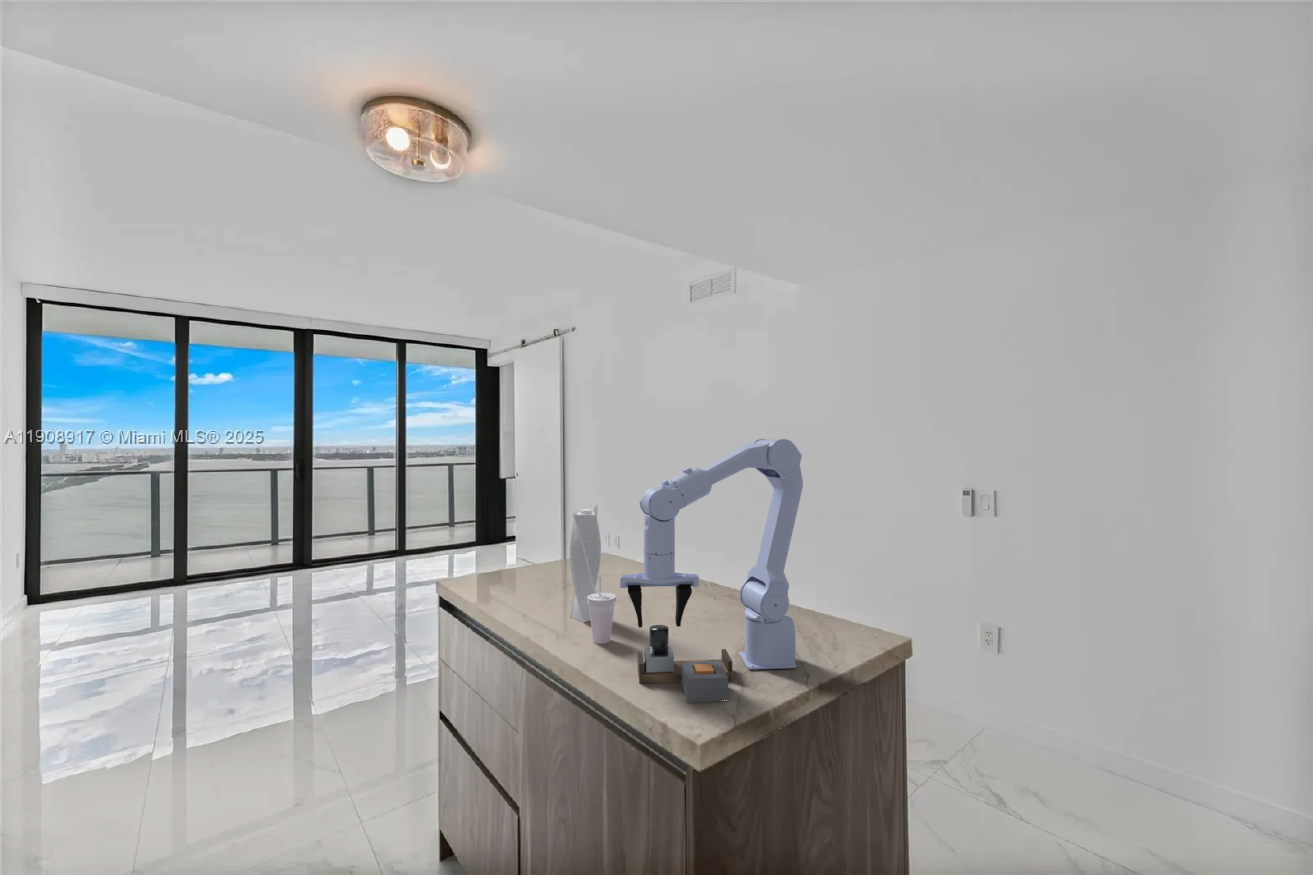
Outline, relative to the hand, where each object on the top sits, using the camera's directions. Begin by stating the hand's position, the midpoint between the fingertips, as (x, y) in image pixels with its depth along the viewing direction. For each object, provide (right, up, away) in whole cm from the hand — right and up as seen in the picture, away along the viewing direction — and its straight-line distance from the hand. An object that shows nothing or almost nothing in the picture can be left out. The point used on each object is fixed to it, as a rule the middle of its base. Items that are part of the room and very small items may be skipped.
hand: (659, 625), depth 106 cm
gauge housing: (+8, -10, -7) cm, 14 cm away
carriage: (0, -8, 0) cm, 8 cm away
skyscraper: (-18, -9, +34) cm, 39 cm away
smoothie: (-12, -10, +18) cm, 24 cm away
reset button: (+8, -9, -7) cm, 13 cm away
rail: (+5, -9, 0) cm, 11 cm away
